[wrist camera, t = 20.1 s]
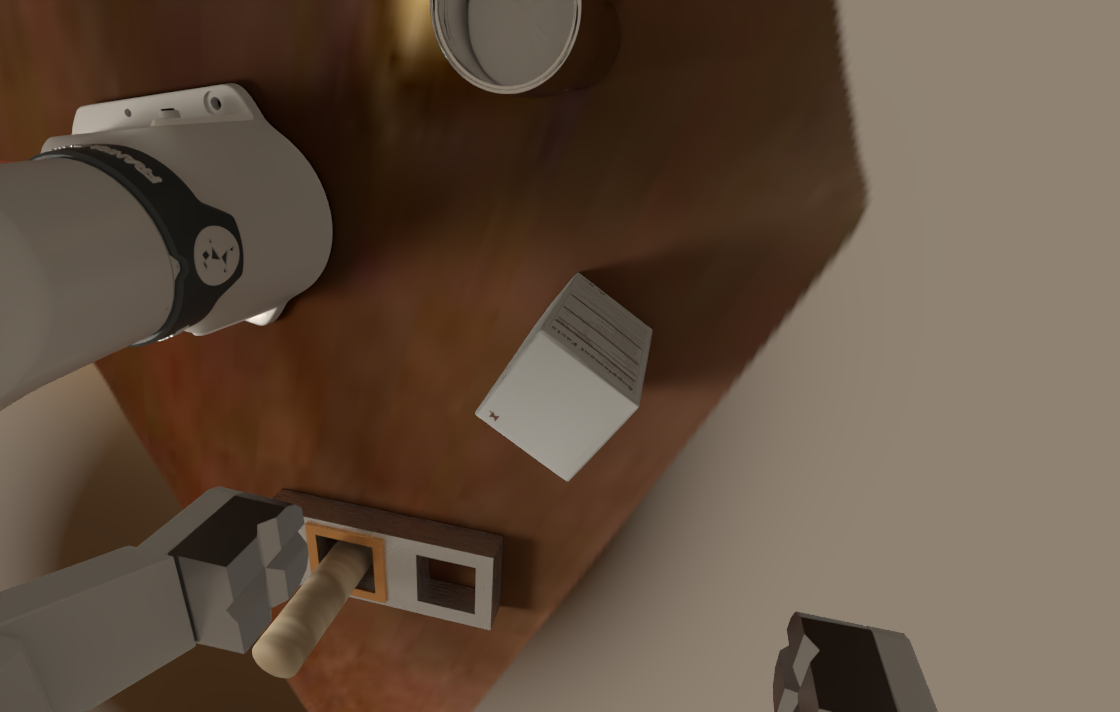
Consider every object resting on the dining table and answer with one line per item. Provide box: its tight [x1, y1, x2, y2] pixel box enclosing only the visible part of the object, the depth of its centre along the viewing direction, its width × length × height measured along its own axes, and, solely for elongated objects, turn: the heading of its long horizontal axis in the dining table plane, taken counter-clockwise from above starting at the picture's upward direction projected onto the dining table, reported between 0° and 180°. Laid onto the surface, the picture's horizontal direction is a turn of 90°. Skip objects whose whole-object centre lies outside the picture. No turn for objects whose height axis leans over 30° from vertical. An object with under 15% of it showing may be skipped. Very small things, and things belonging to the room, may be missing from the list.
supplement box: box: [475, 273, 653, 481], centre depth 40 cm, size 7×7×13 cm
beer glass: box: [430, 0, 620, 99], centre depth 31 cm, size 7×7×15 cm
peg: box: [252, 540, 373, 678], centre depth 54 cm, size 4×4×14 cm
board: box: [272, 489, 503, 630], centre depth 58 cm, size 23×9×3 cm, turn 85°
